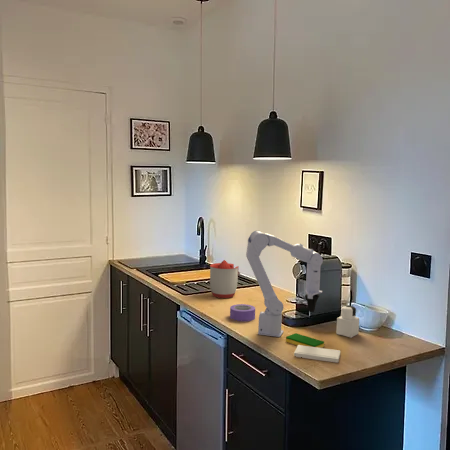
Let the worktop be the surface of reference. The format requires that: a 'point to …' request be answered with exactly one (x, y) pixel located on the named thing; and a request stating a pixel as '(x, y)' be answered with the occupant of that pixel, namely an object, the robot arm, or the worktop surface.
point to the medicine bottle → (347, 322)
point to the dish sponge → (304, 341)
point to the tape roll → (242, 312)
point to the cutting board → (317, 353)
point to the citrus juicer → (223, 279)
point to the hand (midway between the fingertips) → (311, 311)
